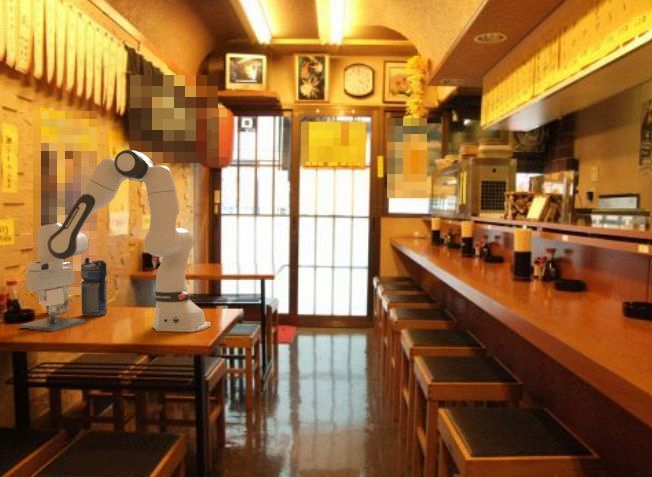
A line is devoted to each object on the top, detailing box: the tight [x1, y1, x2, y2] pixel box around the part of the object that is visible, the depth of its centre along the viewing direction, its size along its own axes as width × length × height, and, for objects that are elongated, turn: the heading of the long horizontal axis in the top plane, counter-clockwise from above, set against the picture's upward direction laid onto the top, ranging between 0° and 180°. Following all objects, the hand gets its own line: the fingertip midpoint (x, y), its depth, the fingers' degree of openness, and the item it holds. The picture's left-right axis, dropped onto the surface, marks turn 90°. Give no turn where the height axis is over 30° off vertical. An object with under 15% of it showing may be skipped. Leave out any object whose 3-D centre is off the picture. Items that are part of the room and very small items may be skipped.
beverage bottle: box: [80, 257, 108, 318], centre depth 217 cm, size 10×13×25 cm
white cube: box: [38, 287, 64, 307], centre depth 196 cm, size 6×6×6 cm
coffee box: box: [45, 285, 70, 315], centre depth 224 cm, size 9×6×16 cm
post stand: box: [19, 305, 86, 333], centre depth 197 cm, size 16×16×12 cm
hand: (51, 298), depth 196 cm, fingers closed on white cube, 7 cm apart
